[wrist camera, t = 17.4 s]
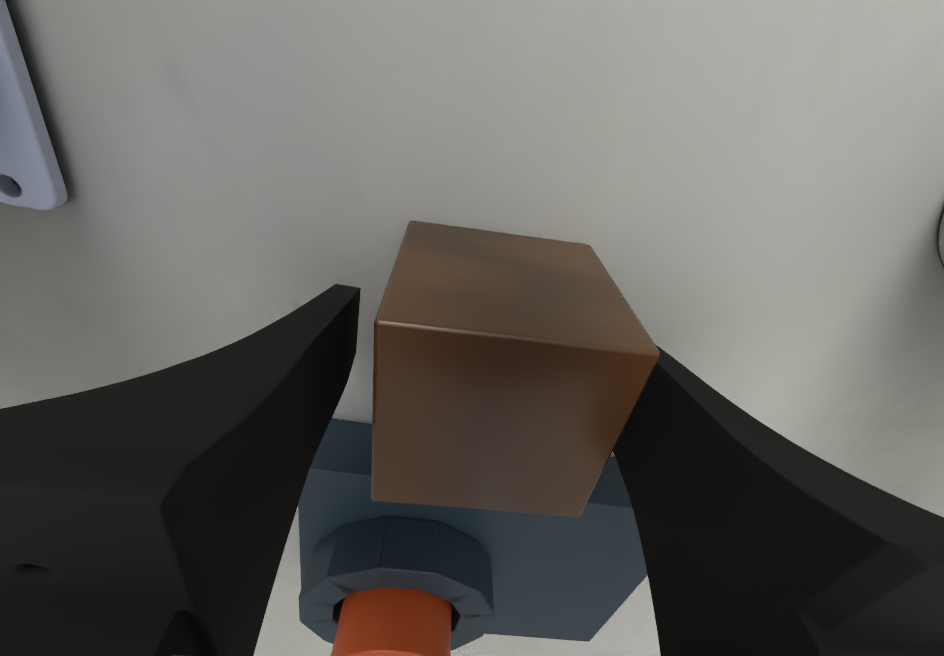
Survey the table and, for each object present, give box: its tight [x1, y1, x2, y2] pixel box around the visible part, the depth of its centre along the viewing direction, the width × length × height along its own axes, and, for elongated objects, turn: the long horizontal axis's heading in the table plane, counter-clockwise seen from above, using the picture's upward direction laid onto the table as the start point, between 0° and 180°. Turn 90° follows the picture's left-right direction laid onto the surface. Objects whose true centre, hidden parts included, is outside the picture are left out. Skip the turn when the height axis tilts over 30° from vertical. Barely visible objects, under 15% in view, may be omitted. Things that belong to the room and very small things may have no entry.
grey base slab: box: [298, 419, 648, 650], centre depth 17 cm, size 14×11×4 cm
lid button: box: [331, 587, 452, 656], centre depth 14 cm, size 4×4×2 cm
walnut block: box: [371, 221, 659, 517], centre depth 10 cm, size 5×5×5 cm
